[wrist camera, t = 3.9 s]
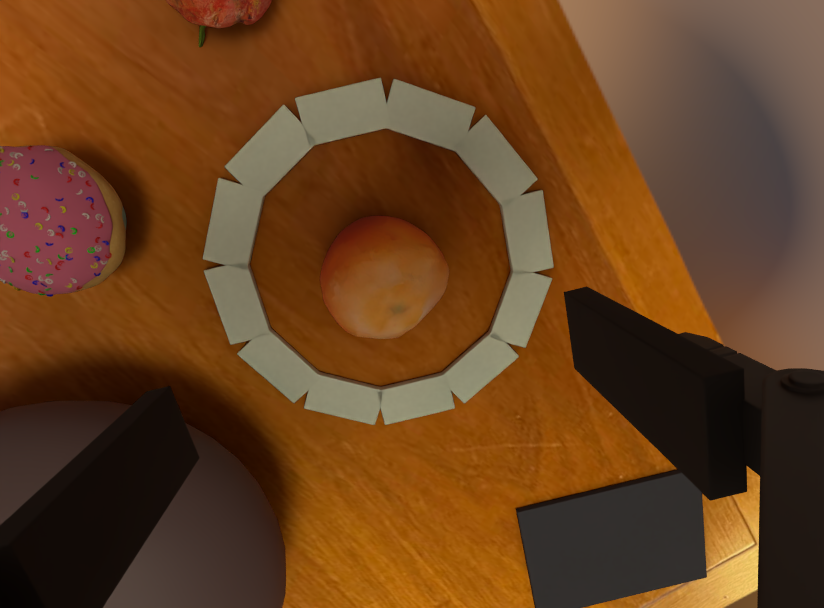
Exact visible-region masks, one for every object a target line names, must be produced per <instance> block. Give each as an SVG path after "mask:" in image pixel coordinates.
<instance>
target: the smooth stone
mask: <svg viewBox="0 0 824 608" xmlns="http://www.w3.org/2000/svg"><path fill="white" fill-rule="evenodd" d="M130 406H131V405H127V404H122V403H116V402H111V401H50V402H44V403H37V404H31V405H24V406H18V407H12V408H9V409H7V410H4V411H1V412H0V525H1V524H2V523H3V522H4V521H5V520H6V519H8V518H9V517H10V516H11V515H12V514H13V513H14V512H15V511H16V510H17V509H19V508H20V507H21V506H22V505H23V504H24V503H25V502H26V501H27V500H28V499H29V498H31V497H32V496H33V495H34V494H35V493H36V492H37V491H38V490H39V489H40V488H42V487H43V486H44V485H45V484H46V483H47V482H48V481H49V480H50V479H51V478H53V477H54V476H55V475H56V474H57V473H58V472H59V471H60V470H61V469H62V468H63V467H65V466H66V465H67V464H68V463H69V462H70V461H71V460H72V459H73V458H74V457H76V456H77V455H78V454H79V453H80V452H81V451H82V450H83V449H84V448H85V447H87V446H88V445H89V444H90V443H91V442H92V441H93V440H94V439H95V438H96V437H97V436H99V435H100V434H101V433H102V432H103V431H104V430H105V429H106V428H107V427H108V426H110V425H111V424H112V423H113V422H114V421H115V420H116V419H117V418H118V417H119V416H121V415H122V414H123V413H124V412H125V411H126V410H127V409H128V408H129V407H130ZM186 426H187V428H188V431H189V433H190V436H191V438H192V440H193V443H194V445H195V448H196V450H197V452H198V455H199V457H200V458H199V460H198V461H197V463H196V464H195V466H194V467H193V469H192V471H191V472H190V474H189V475H188V477H187V478H186V480H185V481H184V483H183V484H182V486H181V488H180V489H179V491H178V492H177V494H176V495H175V497H174V498H173V500H172V501H171V503H170V505H169V506H168V508H167V509H166V511H165V512H164V514H163V515H162V517H161V519H160V520H159V522H158V523H157V525H156V526H155V528H154V529H153V531H152V532H151V534H150V536H149V537H148V539H147V540H146V542H145V543H144V545H143V546H142V548H141V549H140V551H139V553H138V554H137V556H136V557H135V559H134V560H133V562H132V563H131V565H130V566H129V568H128V570H127V571H126V573H125V574H124V576H123V577H122V579H121V580H120V582H119V583H118V585H117V587H116V588H115V590H114V591H113V593H112V594H111V596H110V597H109V599H108V600H107V602H106V604H105V605H104V607H103V608H282V606H283V602H284V598H285V588H286V559H285V545H284V542H283V538H282V535H281V531H280V527H279V524H278V520H277V518H276V516H275V513H274V511H273V509H272V507H271V505H270V503H269V501H268V500H267V498H266V496H265V494H264V492H263V490H262V489H261V487H260V485H259V483H258V482H257V480H256V479H255V478H254V477H253V476H252V475H251V473H250V472H249V471H248V470H247V469H246V467H245V466H244V465H243V464H242V463H241V461H240V460H239V459H238V458H237V457H235V456H234V455H233V454H232V453H230V452H229V451H228V450H227V449H226V448H224V447H223V446H222V445H221V444H219V443H218V442H217V441H216V440H214V439H213V438H212V437H210V436H208V435H206V434H205V433H203V432H201V431H199V430H198V429H196V428H194V427H192V426H190V425H189V424H187V423H186Z"/></svg>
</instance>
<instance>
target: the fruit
mask: <svg viewBox="0 0 824 608" xmlns="http://www.w3.org/2000/svg"><path fill="white" fill-rule="evenodd" d="M448 276H449V268H448V264H447V262H446V261H445V259H444V256H443V254H442V252H441V251H440V249H439V248H438V246H437V245H436V244H435V243H434V242H433V240H432V239H431V238H430V237H429V236H428V235H427V234H426V233H425V232H423V231H422V230H420V229H419V228H417V227H416V226H414V225H412V224H410V223H409V222H407V221H405V220H403V219H399V218H394V217H389V216H369V217H364V218H360V219H358V220H356V221H354V222H353V223H351V224H350V225H349V226H347V227H346V228H344V229H343V230H342V231H341V232H340V233H339V234H338V236H337V237H336V238H335V240H334V242H333V243H332V245H331V246H330V248H329V250H328V252H327V254H326V256H325V259H324V262H323V265H322V270H321V274H320V284H321V288H322V294H323V301H324V303H325V304H326V306H327V308H328V310H329V312H330V313H331V315H332V316H333V318H334V319H335V321H336V322H337V323H338V324H339V325H340V326H341V327H343V329H344V330H345V331H346V332H348V333H350V334H352V335H354V336H359V337H369V338H377V339H389V338H398V337H400V336H401V335H403V334H404V333H406V332H407V331H409V330H411V329H413V328H414V327H415V326H416V325H417V324H418V323H419V322H420V321H421V320H422V319H423V318H424V317H425V316H426V315H427V314H428V312H429V311H430V310H431V309H432V308H433V307H434V306H435V305H436V304H437V302H438V301H439V300H440V299H441V297H442V295H443V293H444V292H445V290H446V286H447V280H448Z"/></svg>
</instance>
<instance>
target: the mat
mask: <svg viewBox="0 0 824 608" xmlns="http://www.w3.org/2000/svg"><path fill="white" fill-rule="evenodd" d="M516 512H517V517H518V522H519V527H520V532H521V538H522V543H523V548H524V553H525V558H526V563H527V568H528V573H529V578H530V583H531V588H532V594H533V599H534V604H535V608H582V607H587V606H591V605H595V604H599V603H603V602H607V601H611V600H615V599H619V598H624V597H628V596H632V595H636V594H640V593H644V592H648V591H652V590H656V589H660V588H665V587H669V586H673V585H677V584H681V583H685V582H689V581H693V580H697V579H701V578H706V577H707V574H706V556H705V539H704V522H703V505H702V492H701V491H700V490H699V489H698V488H697V487H696V486H695V485H694V484H693V483H692V482H691V481H690V480H689V479H688V478H687V477H686V476H684V475H683V474H682V473H681V472H680V471H679V470H674V471H670V472H666V473H662V474H658V475H654V476H650V477H646V478H641V479H637V480H633V481H629V482H625V483H621V484H617V485H613V486H608V487H604V488H600V489H596V490H592V491H588V492H584V493H580V494H575V495H571V496H567V497H563V498H559V499H555V500H551V501H547V502H542V503H538V504H534V505H530V506H526V507H522V508H518V509H516Z"/></svg>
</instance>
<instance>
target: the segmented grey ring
mask: <svg viewBox="0 0 824 608" xmlns="http://www.w3.org/2000/svg"><path fill="white" fill-rule="evenodd" d="M295 101H296V104H297V108H298V111H299V115H300V119H301V122H302V123H301V122H300V121H299V119H298V118H297V117H296V116H295V115H294V114H293V113H292V112H291V111H290V110H289V109H288V108H287V107H286V106H285V105H283V106H282V107H281V108H280V109H279V110H278V111H277V112H276V113H275V114H274V115H273V116H272V117H271V118H270V119H269V120H268V121H267V122H266V123H265V124H264V125H263V127H262V128H261V129H260V130H259V131H258V132H257V133H256V134H255V135H254V136H253V137H252V138H251V139H250V140H249V141H248V142H247V143H246V144H245V145H244V146H243V147H242V149H241V150H240V151H239V152H238V153H237V154H236V155H235V156H234V157H233V158H232V159H231V160H230V161H229V162H228V163H227V164H226V165H225V168H226V169H227V170H228V171H229V172H230V173H231V174H232V175H233V176H234V177H235V178H236V179H237V180H238V181H239V182H240V183H241V184H240V183H237V182H234V181H230V180H227V179H224V178H218V182H217V188H216V193H215V198H214V203H213V208H212V213H211V218H210V223H209V228H208V233H207V239H206V244H205V249H204V254H203V259H204V260H208V261H211V262H215V263H219V264H222V266H218V267H213V268H209V269H206V270H204V273H205V276H206V279H207V282H208V284H209V287H210V290H211V293H212V295H213V298H214V301H215V304H216V306H217V309H218V312H219V315H220V317H221V320H222V323H223V326H224V328H225V331H226V334H227V337H228V339H229V342H230V345H232V344H236V343H240V342H245V341H249V340H250V341H249V342H248V343H247V344H246V345H245V346H244V347H243V348H242V349H241V350H240V351H239V352H238V353H237V355H239V356H240V357H241V358H242V359H243V360H244V361H245V362H247V363H248V364H249V365H250V366H251V367H252V368H254V369H255V370H256V371H257V372H258V373H259V374H260V375H262V376H263V377H264V378H265V379H266V380H267V381H269V382H270V383H271V384H272V385H273V386H274V387H276V388H277V389H278V390H279V391H280V392H281V393H282V394H284V395H285V396H286V397H287V398H288V399H289V400H291V401H292V402H293V403H295V402H296V401H297V400H298V399H299V398H301V397H302V396H303V395H304V394H305V393H306V392H307V391H308V394H307V397H306V401H305V405H304V409H309V410H313V411H317V412H321V413H326V414H330V415H334V416H338V417H342V418H347V419H351V420H355V421H359V422H364V423H368V424H372V425H375V423H376V420H377V417H378V413H379V410H380V408H381V412H382V415H383V419H384V423H385V425H388V424H392V423H396V422H400V421H404V420H408V419H413V418H417V417H421V416H425V415H429V414H433V413H438V412H442V411H446V410H450V409H454V408H455V405H454V401H453V396H452V392H453V393H454V394H455V395H456V396H457V397H458V398H459V399H460V400H461V401H462V402H463V403H466V402H467V401H468V400H469V399H470V398H471V397H473V396H474V395H475V394H476V393H477V392H478V391H480V390H481V389H482V388H483V387H484V386H485V385H487V384H488V383H489V382H490V381H491V380H492V379H494V378H495V377H496V376H497V375H498V374H499V373H501V372H502V371H503V370H504V369H505V368H506V367H508V366H509V365H510V364H511V363H512V362H513V361H514V360H516V359H517V358H518V357H519V356H518V354H517V353H516V352H515V351H514V350H513V349H512V348H511V347H510V346H509V345H508V343H510V344H513V345H517V346H520V347H524V348H525V347H526V345H527V342H528V340H529V337H530V335H531V332H532V330H533V327H534V324H535V322H536V319H537V317H538V314H539V312H540V309H541V306H542V304H543V301H544V299H545V296H546V294H547V291H548V288H549V286H550V283H551V281H552V278H550V277H548V276H545V275H542V274H538V273H535V272H537V271H541V270H545V269H550V268H553V267H554V266H553V259H552V252H551V245H550V238H549V231H548V224H547V217H546V210H545V203H544V196H543V190H537V191H533V192H528V193H524V192H525V191H526V190H527V189H528V188H529V187H530V186H531V185H532V184H533V183H534V182H536V181H537V177H536V176H535V175H534V174H533V172H532V171H531V170H530V169H529V167H528V166H527V165H526V164H525V162H524V161H523V160H522V159H521V157H520V156H519V155H518V154H517V152H516V151H515V150H514V149H513V147H512V146H511V145H510V144H509V142H508V141H507V140H506V139H505V138H504V136H503V135H502V134H501V133H500V131H499V130H498V129H497V128H496V126H495V125H494V124H493V123H492V121H491V120H490V119H489V118H488V116H487V115H484V116H483V117H482V118H481V119H480V120H479V121H478V122H477V123H476V124H475V125H474V126H473V127H472V128H470V129H469V127H470V124H471V121H472V118H473V114H474V111H475V107H474V106H471V105H468V104H465V103H462V102H460V101H457V100H454V99H451V98H448V97H445V96H443V95H440V94H437V93H434V92H431V91H428V90H425V89H423V88H420V87H417V86H414V85H411V84H408V83H406V82H403V81H400V80H397V79H393V82H392V86H391V89H390V93H389V97H388V100H387V103H386V98H385V94H384V89H383V85H382V80H381V78H377V79H372V80H368V81H364V82H360V83H355V84H351V85H347V86H343V87H339V88H334V89H330V90H326V91H322V92H317V93H313V94H309V95H305V96H300V97H296V98H295ZM384 129H388V130H391V131H394V132H396V133H399V134H402V135H405V136H408V137H411V138H414V139H417V140H420V141H423V142H426V143H429V144H432V145H435V146H438V147H441V148H444V149H447V150H450V151H453V152H455V153H456V154H457V155H458V157H459V158H460V159H461V160H462V161H463V162H464V164H465V165H466V166H467V167H468V168H469V170H470V171H471V172H472V173H473V174H474V175H475V177H476V178H477V179H478V180H479V181H480V182H481V184H482V185H483V186H484V187H485V188H486V190H487V191H488V192H489V193H490V194H491V195H492V197H493V198H494V199H495V200H496V201H497V203H498V204H499V205H500V210H501V216H502V222H503V228H504V234H505V239H506V245H507V251H508V257H509V263H510V269H511V272H510V274H509V277H508V280H507V283H506V285H505V288H504V291H503V294H502V296H501V299H500V302H499V305H498V307H497V310H496V313H495V315H494V318H493V321H492V324H491V326H490V329H489V331H488V332H487V333H486V334H485V335H484V336H483V337H481V338H480V339H479V340H478V341H477V342H476V343H475V344H473V345H472V346H471V347H470V348H469V349H468V350H467V351H466V352H464V353H463V354H462V355H461V356H460V357H459V358H458V359H456V360H455V361H454V362H453V363H452V364H451V365H450V366H448V367H447V368H446V369H445V370H444V371H443V372H441V373H437V374H433V375H429V376H425V377H421V378H416V379H412V380H408V381H404V382H400V383H396V384H391V385H387V386H383V387H378V386H374V385H370V384H366V383H362V382H358V381H354V380H350V379H346V378H342V377H338V376H334V375H330V374H326V373H322V372H319V371H318V370H317V369H316V368H315V367H313V366H312V365H311V364H310V363H309V362H308V361H307V360H306V359H305V358H304V357H302V356H301V355H300V354H299V353H298V352H297V351H296V350H295V349H294V348H292V347H291V346H290V345H289V344H288V343H287V342H286V341H285V340H284V339H283V338H281V337H280V336H279V335H278V334H277V333H276V332H275V331H274V330H273V329H271V327H270V324H269V321H268V318H267V315H266V312H265V309H264V306H263V303H262V300H261V297H260V294H259V291H258V288H257V285H256V282H255V279H254V276H253V273H252V270H251V267H250V261H251V257H252V252H253V248H254V243H255V239H256V234H257V230H258V225H259V221H260V216H261V212H262V207H263V203H264V198H265V196H266V195H267V194H268V193H269V192H270V191H271V190H272V189H273V188H274V187H275V186H276V185H277V184H278V183H279V182H280V181H281V180H282V179H283V178H284V177H285V176H286V175H287V174H288V173H289V172H290V171H291V170H292V169H293V168H294V167H295V166H296V165H297V164H298V163H299V162H300V161H301V160H302V159H303V158H304V157H305V156H306V155H307V153H308V152H309V151H310V150H311V149H312V148H313V147H314V146H316V145H321V144H325V143H329V142H333V141H338V140H342V139H346V138H350V137H355V136H359V135H363V134H367V133H371V132H376V131H380V130H384ZM522 193H524V194H522ZM451 391H452V392H451Z"/></svg>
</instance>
